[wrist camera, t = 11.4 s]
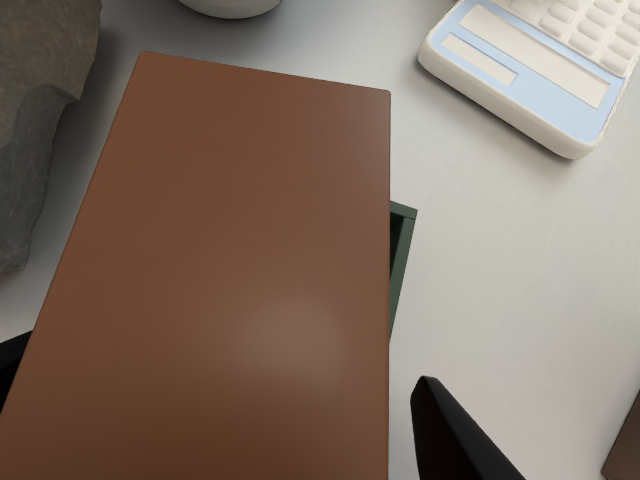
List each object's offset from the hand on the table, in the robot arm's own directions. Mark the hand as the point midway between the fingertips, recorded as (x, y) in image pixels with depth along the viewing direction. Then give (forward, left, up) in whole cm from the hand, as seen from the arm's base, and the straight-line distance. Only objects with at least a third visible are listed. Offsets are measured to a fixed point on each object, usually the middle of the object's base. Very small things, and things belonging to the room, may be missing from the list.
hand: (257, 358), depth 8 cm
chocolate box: (+1, 0, -6) cm, 6 cm away
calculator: (+28, -12, -7) cm, 31 cm away
